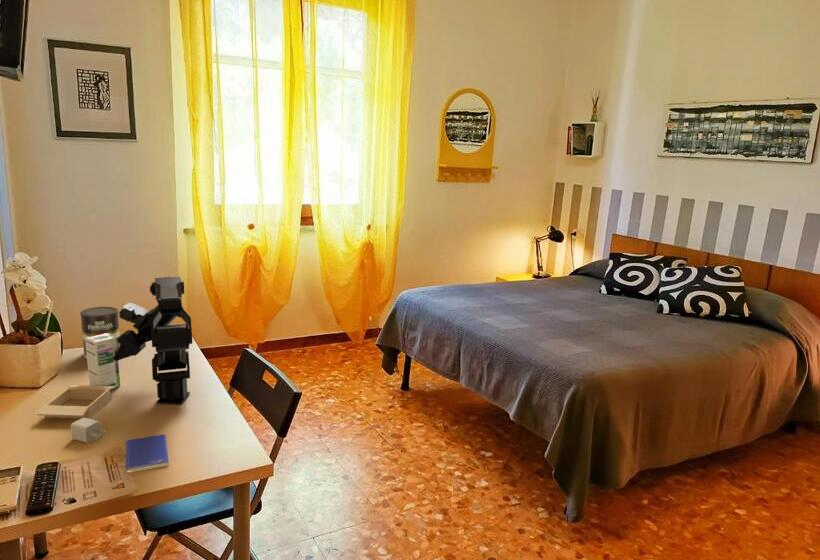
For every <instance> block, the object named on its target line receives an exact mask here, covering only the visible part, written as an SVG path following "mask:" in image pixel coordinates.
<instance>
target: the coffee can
mask: <svg viewBox="0 0 820 560" xmlns="http://www.w3.org/2000/svg"><path fill="white" fill-rule="evenodd" d="M80 317H81V318H80V320H81V332H82V341H83V342H82V344H83V346H82V347H83V356H84V358H86V359H87V353H86V343H85V338H87V337H93V336H97V335H102V334H105V333H107V334H111V335H113V336H114V337H116V340H117V338H118V337H120V325H119V309H118V308H116V307H114V306H95V307H94V306H93V307H89V308H85V309H83V310H81V311H80ZM119 347H120V343H119V342H118V341H117V350H118V349H119Z"/></svg>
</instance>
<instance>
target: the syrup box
mask: <svg viewBox="0 0 820 560" xmlns="http://www.w3.org/2000/svg"><path fill="white" fill-rule="evenodd" d="M85 343H86V353H87V358H86V361H87V362H86V363H87V369H88V370H87V371H88V382H89V383H88V384H89V386H115V388H114V389H116V388H119V387H121V377H120V368H119V360H118V361H115V360H114V359H113V357H114V355H115V354H116V352H117V340H116V337H114V336H113V335H111V334H107V333H105V334H102V335H97V336H93V337H87V338H85Z"/></svg>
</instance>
